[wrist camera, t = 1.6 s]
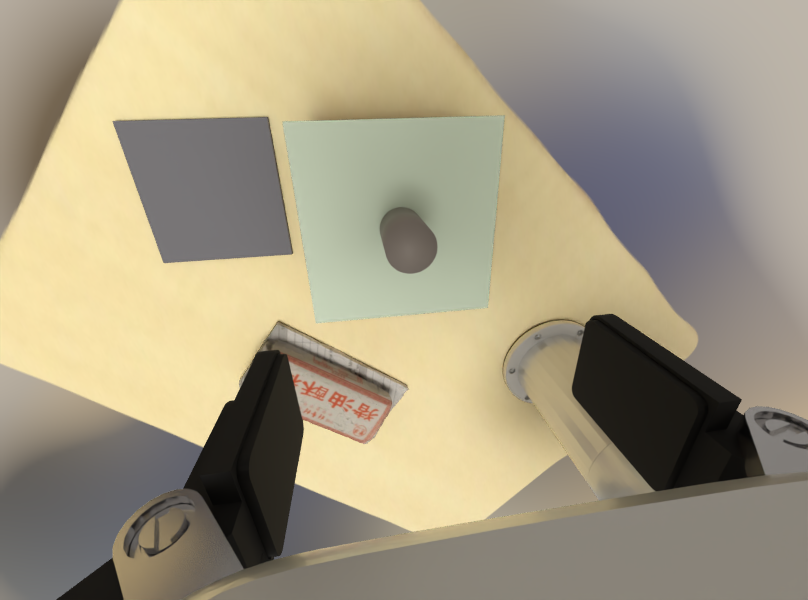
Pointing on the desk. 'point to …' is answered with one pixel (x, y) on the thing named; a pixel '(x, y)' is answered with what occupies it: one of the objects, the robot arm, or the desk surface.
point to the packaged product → (335, 385)
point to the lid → (396, 212)
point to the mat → (208, 186)
